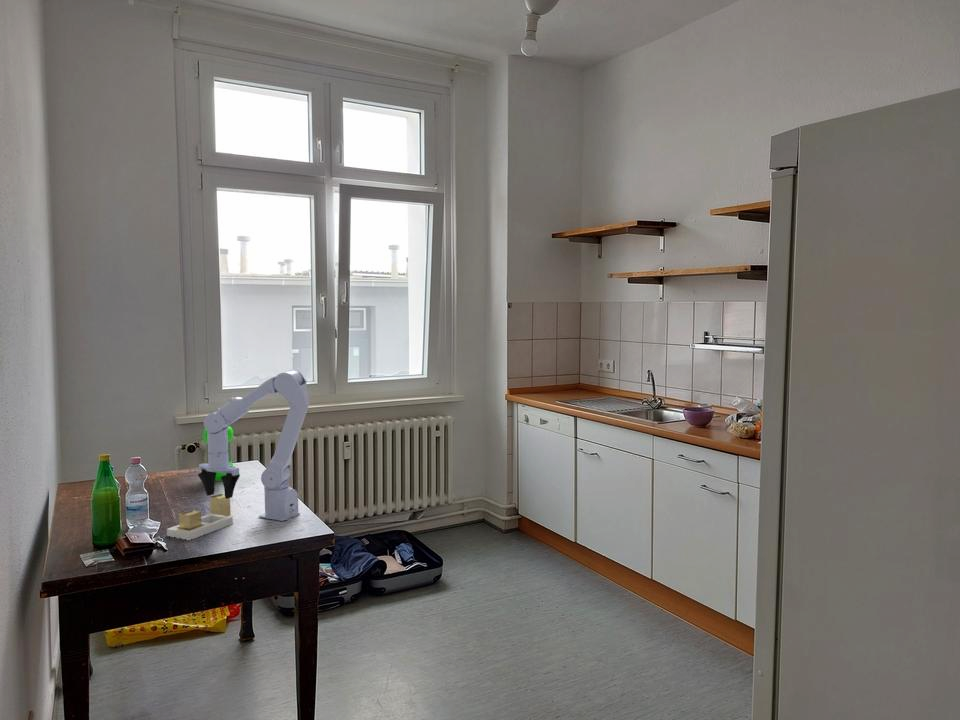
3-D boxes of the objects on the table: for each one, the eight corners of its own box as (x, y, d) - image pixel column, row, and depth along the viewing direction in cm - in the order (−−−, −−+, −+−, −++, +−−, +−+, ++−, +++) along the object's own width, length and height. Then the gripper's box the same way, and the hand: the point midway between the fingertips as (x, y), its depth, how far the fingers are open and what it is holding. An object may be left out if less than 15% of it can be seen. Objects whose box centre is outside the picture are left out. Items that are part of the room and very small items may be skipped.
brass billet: (230, 514, 205) (229, 494, 205) (220, 518, 201) (219, 498, 201) (220, 513, 207) (220, 493, 206) (210, 516, 203) (209, 496, 203)
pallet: (232, 523, 196) (232, 516, 196) (189, 540, 182) (188, 533, 182) (211, 519, 200) (211, 513, 200) (167, 536, 186) (166, 528, 186)
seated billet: (201, 532, 189) (200, 510, 188) (190, 536, 185) (189, 514, 185) (191, 530, 191) (190, 509, 190) (179, 534, 187) (178, 513, 187)
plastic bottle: (198, 481, 245) (195, 413, 243) (221, 474, 254) (219, 408, 252) (217, 484, 240) (215, 414, 239) (240, 477, 250) (238, 410, 248)
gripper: (189, 452, 202) (191, 496, 203) (225, 456, 196) (227, 502, 197) (208, 447, 208) (210, 491, 209) (243, 452, 202) (245, 496, 203)
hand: (219, 496), depth 204 cm, fingers open, 7 cm apart
